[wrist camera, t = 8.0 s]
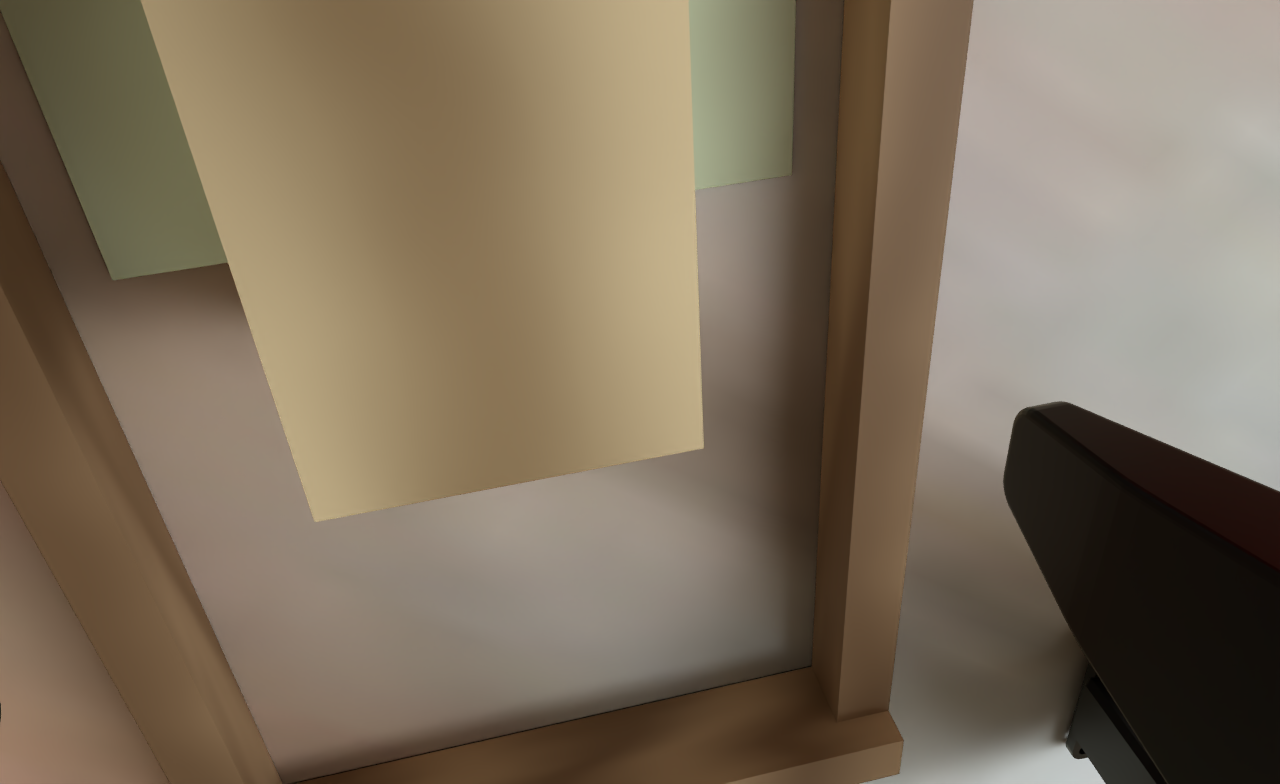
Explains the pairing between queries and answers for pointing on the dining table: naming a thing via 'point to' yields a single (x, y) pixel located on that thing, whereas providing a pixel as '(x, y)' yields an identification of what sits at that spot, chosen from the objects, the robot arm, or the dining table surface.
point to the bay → (723, 155)
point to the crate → (452, 230)
